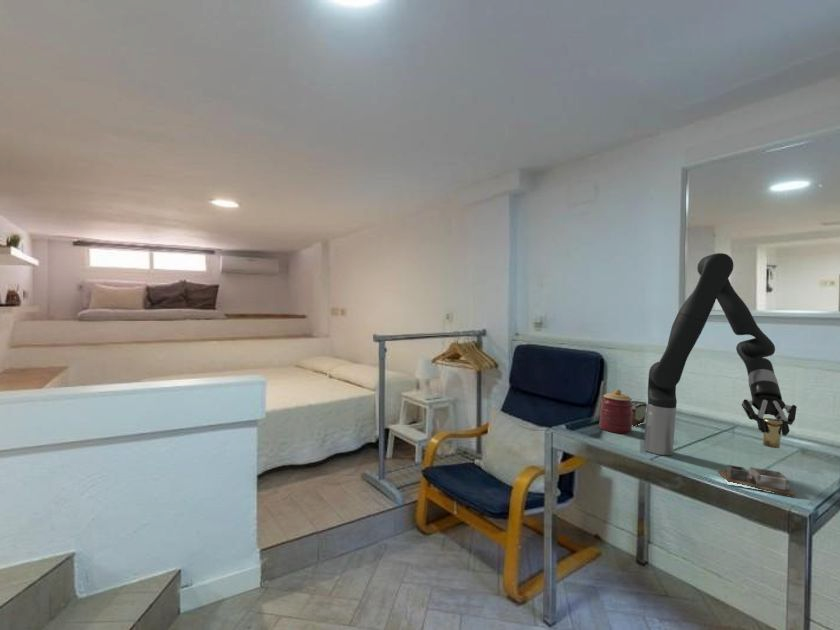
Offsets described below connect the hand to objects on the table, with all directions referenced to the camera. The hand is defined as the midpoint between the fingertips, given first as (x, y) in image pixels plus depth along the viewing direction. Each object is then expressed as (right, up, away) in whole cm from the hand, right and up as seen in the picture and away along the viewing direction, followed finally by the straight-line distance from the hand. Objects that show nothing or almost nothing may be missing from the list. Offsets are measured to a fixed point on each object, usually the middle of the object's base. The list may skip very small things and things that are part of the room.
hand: (774, 432), depth 130 cm
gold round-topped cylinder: (0, -5, +2) cm, 5 cm away
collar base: (-4, -17, +3) cm, 18 cm away
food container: (-8, -15, +70) cm, 72 cm away
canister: (-22, -15, +58) cm, 64 cm away
